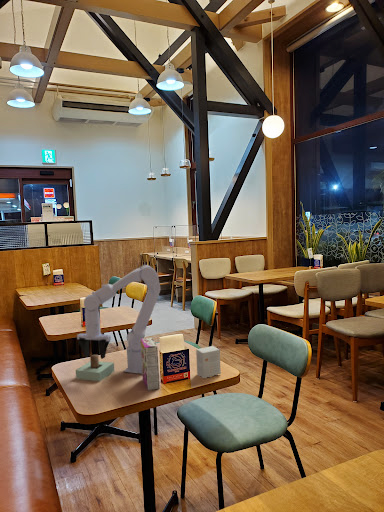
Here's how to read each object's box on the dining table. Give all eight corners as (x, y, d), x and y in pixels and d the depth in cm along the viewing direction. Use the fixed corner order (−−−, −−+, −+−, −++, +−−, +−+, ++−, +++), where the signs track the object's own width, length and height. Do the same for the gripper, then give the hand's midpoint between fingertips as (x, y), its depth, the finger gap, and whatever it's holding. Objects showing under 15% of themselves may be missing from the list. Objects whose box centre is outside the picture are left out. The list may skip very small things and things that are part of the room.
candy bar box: (141, 379, 148) (139, 338, 147) (154, 377, 150) (152, 337, 148) (146, 391, 138) (144, 347, 136) (160, 389, 139) (158, 345, 138)
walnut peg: (100, 373, 156) (99, 354, 155) (96, 376, 153) (95, 357, 152) (93, 373, 157) (92, 354, 156) (89, 376, 153) (88, 356, 153)
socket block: (114, 370, 158) (113, 362, 158) (100, 381, 148) (99, 372, 148) (91, 368, 162) (91, 360, 161) (76, 378, 151) (75, 370, 151)
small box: (214, 370, 155) (213, 345, 154) (221, 375, 150) (220, 349, 149) (196, 374, 151) (195, 348, 151) (203, 379, 146) (202, 352, 146)
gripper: (71, 326, 152) (73, 359, 153) (103, 328, 147) (105, 362, 148) (82, 321, 158) (84, 353, 159) (112, 323, 154) (114, 355, 155)
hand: (94, 357), depth 154 cm, fingers open, 7 cm apart
